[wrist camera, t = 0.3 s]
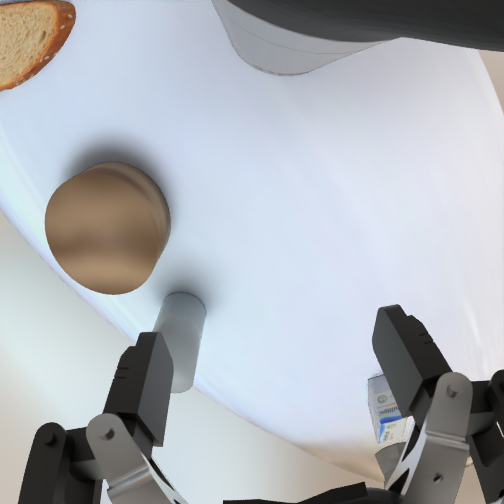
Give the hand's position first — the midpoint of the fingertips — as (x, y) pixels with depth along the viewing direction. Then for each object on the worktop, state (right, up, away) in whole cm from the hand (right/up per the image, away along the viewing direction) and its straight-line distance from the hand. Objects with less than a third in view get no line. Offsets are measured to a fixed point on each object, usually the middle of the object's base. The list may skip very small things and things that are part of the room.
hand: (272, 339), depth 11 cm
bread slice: (-29, +27, +7) cm, 40 cm away
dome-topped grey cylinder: (-9, -4, +24) cm, 25 cm away
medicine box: (+20, -19, +32) cm, 42 cm away
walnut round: (-15, +7, +18) cm, 24 cm away
